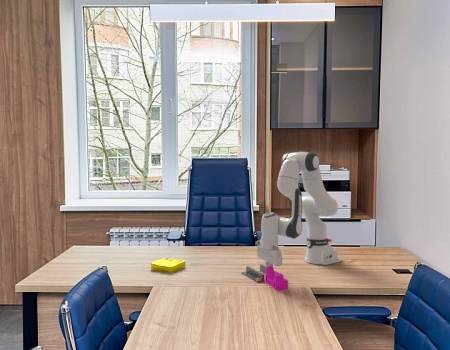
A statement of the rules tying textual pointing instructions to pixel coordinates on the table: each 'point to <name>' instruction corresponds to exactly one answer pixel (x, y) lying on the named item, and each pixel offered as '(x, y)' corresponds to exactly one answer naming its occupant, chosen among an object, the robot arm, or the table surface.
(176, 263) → the yellow flat square slab
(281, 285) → the toy block
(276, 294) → the table surface
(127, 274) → the table surface
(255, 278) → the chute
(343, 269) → the table surface
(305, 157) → the robot arm
